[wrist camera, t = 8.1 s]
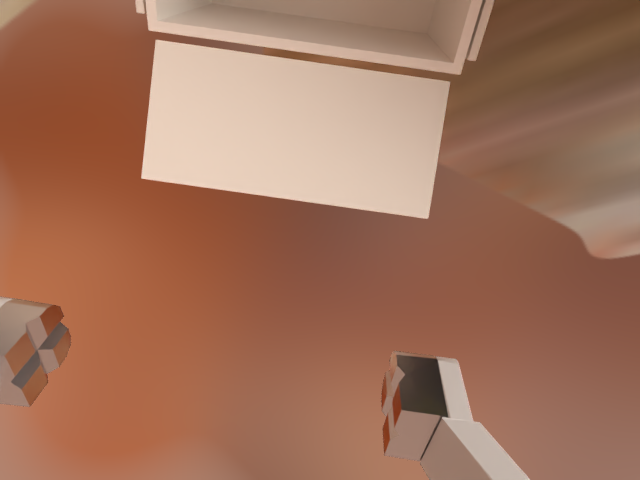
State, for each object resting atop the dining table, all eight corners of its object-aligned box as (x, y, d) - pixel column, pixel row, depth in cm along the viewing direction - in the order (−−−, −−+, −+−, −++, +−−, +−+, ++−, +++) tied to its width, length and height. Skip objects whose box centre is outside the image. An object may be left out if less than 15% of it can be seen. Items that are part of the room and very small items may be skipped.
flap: (428, 218, 21) (425, 218, 22) (450, 81, 21) (447, 84, 21) (141, 178, 21) (145, 179, 22) (155, 39, 21) (159, 43, 21)
